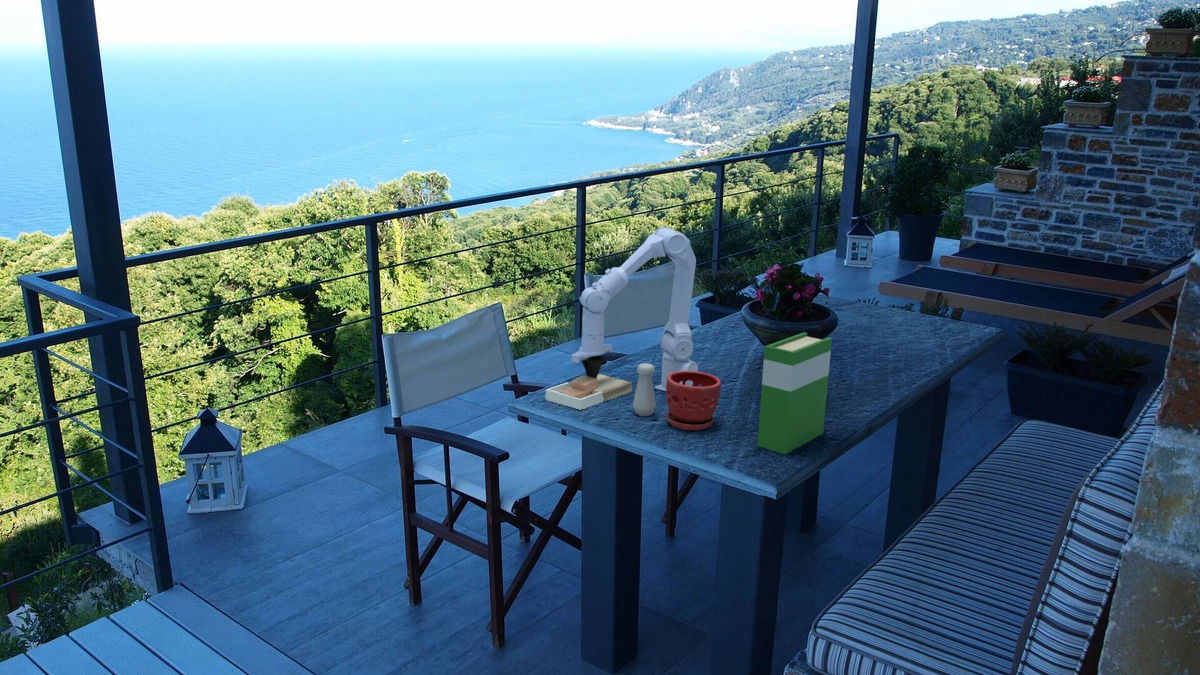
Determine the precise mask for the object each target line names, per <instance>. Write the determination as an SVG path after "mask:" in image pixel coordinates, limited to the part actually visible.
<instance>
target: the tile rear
mask: <svg viewBox="0 0 1200 675" xmlns="http://www.w3.org/2000/svg"><path fill="white" fill-rule="evenodd" d="M570 383H571V388H575V389H579V390H582V391H586V392H587V394H588V393H589V392H591V391H593V390H595V389H597V388H598V379H596V378H592V377H589V376H587V375H585V374H582V375H580V376H579V377H577V378H575V379H573V380H571V381H570Z"/></svg>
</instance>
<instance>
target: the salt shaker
mask: <svg viewBox="0 0 1200 675" xmlns="http://www.w3.org/2000/svg"><path fill="white" fill-rule="evenodd" d="M655 369H656V368H655V366H654V365H653V364H651V363H646V362H645V363H644V362H643V363H640V364H638V366H637V368H636V373H637V374H638V380H637V384H636V387H635V393H634V397H633V402H632V408H633V411H634V413H635V414H636V415H637V414H638V415H640V416H639V417H644V416H647V417H650V416H649V415H651V416H653V414H654V411H655V409H656V406H657V403H656V397H655V388H654V382H653V375H655V374H654V373H655V372H656V370H655ZM638 415H637V416H638Z"/></svg>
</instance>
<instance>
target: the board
mask: <svg viewBox="0 0 1200 675" xmlns="http://www.w3.org/2000/svg"><path fill="white" fill-rule="evenodd" d="M597 379H598V388H597V389H595V390H593V391H591V392H589V393H591V394H595V393H598V392H602V397H604V401H606V402H608V401H607V400H609V401H611V400H614V399H617V398H619V397H621V395H622V396H623V395H626V394H629V393H632V392H633V382H630V381H626V380H624V379H619V378H615V377H612V376H608V375H604V374H601V373H598V376H597ZM568 383H569V387H570V388H571V382H568ZM618 396H619V397H618ZM613 398H614V399H613ZM610 399H611V400H610Z"/></svg>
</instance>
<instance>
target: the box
mask: <svg viewBox="0 0 1200 675" xmlns="http://www.w3.org/2000/svg"><path fill="white" fill-rule="evenodd" d="M569 383H570V382H564V383H562V384H558V385H555V386H552V387H549V388H547V389H545V401H546V402H550V403H552V402H553V403H552V404H555V403H557V404H556V405H559V404H561V405H560V406H562V405H564V406H563V407H565V406H568V407H572V408H576V409H579V410H581V409H585V408H587V407H590V406H593V405H596V404H598V405H600V404H599V403H601V402H603V401H604V397H602V392H598V393H595V394H591V393H588V394H587V397H584V398H582V399H579V398H576V397H572V396H569V395H566V394H562V393H559V392H561V391H564V390H567V389H569V388H570V387H569ZM603 403H604V402H603ZM601 404H602V403H601ZM596 406H597V405H596ZM568 407H567V408H568ZM593 407H594V406H593ZM572 408H571V409H572ZM590 408H591V407H590ZM585 410H586V409H585Z"/></svg>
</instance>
